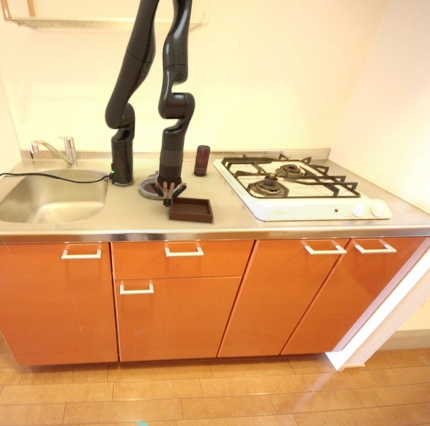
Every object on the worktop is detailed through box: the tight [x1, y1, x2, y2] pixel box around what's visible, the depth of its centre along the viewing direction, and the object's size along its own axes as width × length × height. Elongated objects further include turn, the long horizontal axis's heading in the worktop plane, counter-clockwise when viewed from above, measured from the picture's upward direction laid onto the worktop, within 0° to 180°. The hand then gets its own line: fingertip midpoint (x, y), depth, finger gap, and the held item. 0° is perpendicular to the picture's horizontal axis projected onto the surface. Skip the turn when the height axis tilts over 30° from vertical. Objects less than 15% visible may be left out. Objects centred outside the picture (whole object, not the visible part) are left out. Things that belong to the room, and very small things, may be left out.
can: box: [193, 144, 211, 178], centre depth 109 cm, size 6×6×14 cm
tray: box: [169, 196, 214, 224], centre depth 83 cm, size 15×12×3 cm
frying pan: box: [138, 169, 179, 201], centre depth 102 cm, size 17×3×28 cm
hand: (166, 206), depth 84 cm, fingers closed
